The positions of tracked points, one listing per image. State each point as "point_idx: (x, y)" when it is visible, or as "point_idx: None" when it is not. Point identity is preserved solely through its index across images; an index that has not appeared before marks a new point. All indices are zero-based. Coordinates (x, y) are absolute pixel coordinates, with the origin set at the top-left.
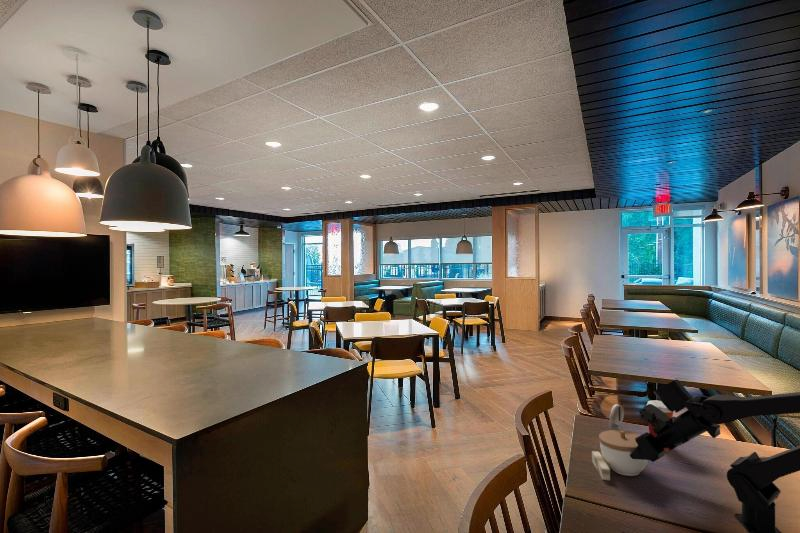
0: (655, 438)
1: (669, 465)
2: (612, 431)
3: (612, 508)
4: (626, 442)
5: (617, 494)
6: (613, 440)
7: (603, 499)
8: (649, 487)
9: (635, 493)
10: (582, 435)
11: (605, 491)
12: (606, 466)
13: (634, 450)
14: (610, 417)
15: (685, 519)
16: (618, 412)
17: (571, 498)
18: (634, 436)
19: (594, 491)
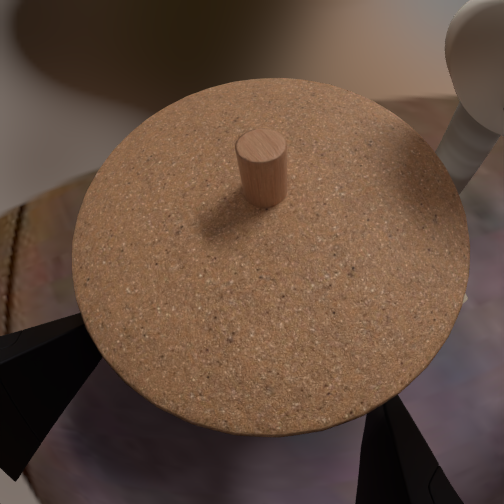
0: (401, 485)
1: (466, 435)
2: (356, 112)
3: (5, 307)
4: (144, 243)
5: (65, 308)
6: (153, 157)
7: (29, 276)
8: None
9: (99, 365)
10: (447, 105)
11: (66, 270)
12: None
13: (36, 330)
14: (446, 42)
15: (55, 498)
16: None
17: (16, 210)
18: (364, 272)
19: (55, 242)
